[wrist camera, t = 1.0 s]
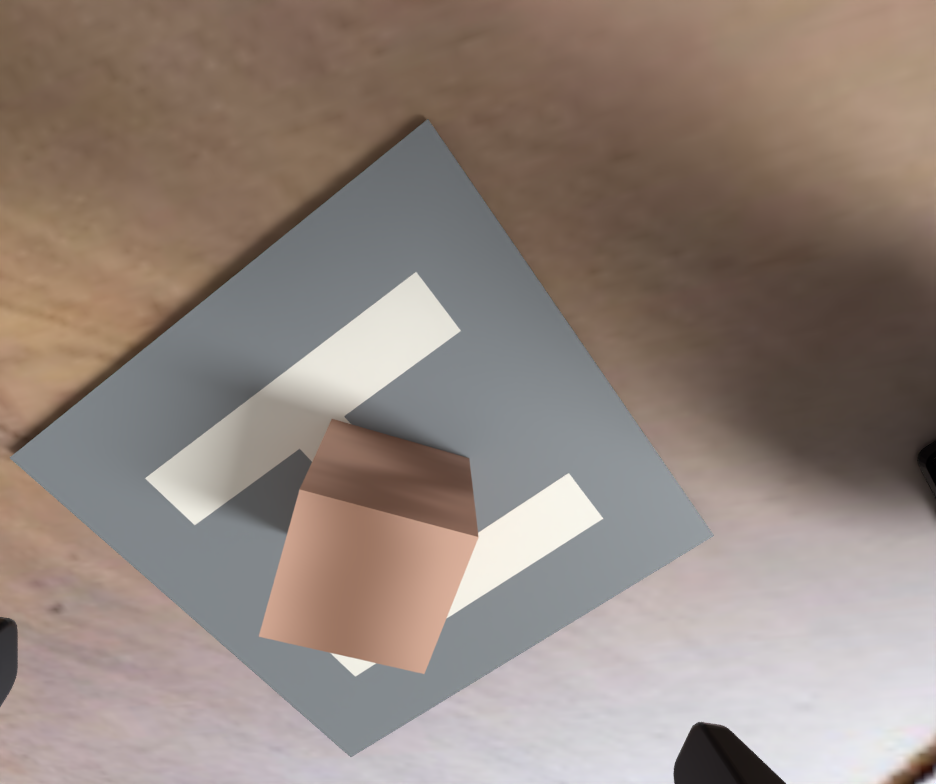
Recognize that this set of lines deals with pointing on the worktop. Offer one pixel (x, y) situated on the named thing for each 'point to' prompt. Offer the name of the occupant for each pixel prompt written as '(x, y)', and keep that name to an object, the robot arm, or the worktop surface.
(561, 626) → the board
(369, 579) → the terracotta block
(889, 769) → the worktop surface
